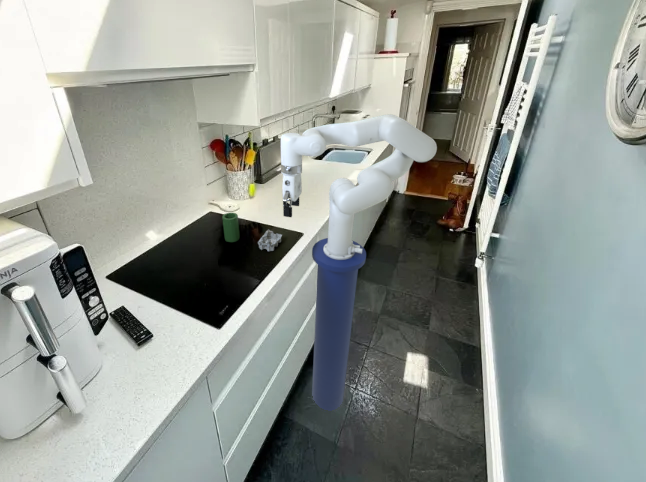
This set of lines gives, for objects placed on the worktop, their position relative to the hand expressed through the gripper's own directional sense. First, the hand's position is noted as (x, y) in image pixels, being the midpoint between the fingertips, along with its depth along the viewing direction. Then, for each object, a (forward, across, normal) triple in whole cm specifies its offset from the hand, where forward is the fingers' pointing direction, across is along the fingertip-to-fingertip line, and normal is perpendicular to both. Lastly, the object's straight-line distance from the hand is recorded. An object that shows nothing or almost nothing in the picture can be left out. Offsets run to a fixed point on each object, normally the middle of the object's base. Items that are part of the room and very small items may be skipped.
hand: (291, 210), depth 118 cm
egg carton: (+17, 0, +9) cm, 20 cm away
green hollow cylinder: (+17, 0, +27) cm, 32 cm away
